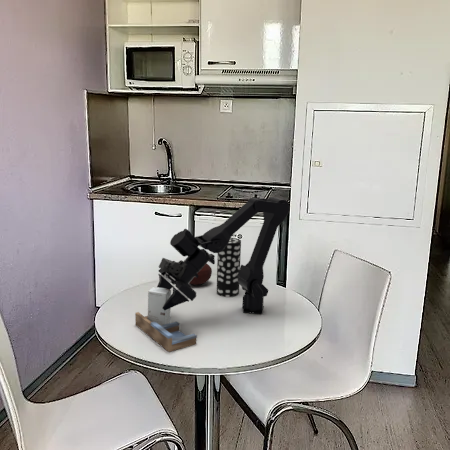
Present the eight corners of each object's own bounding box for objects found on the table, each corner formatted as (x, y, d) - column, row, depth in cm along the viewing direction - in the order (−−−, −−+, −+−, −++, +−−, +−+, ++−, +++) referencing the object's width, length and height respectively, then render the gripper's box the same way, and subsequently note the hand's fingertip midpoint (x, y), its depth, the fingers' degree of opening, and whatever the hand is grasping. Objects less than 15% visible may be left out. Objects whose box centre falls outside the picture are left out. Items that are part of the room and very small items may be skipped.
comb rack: (134, 324, 152) (134, 310, 151) (161, 318, 157) (161, 304, 156) (168, 352, 136) (168, 336, 135) (196, 343, 141) (197, 328, 140)
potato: (215, 286, 188) (216, 262, 186) (186, 290, 183) (187, 266, 181) (206, 278, 196) (206, 256, 193) (178, 282, 190) (178, 259, 188)
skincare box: (146, 328, 150) (146, 290, 147) (153, 322, 154) (153, 286, 151) (165, 331, 148) (165, 293, 146) (171, 325, 152) (171, 288, 150)
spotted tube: (239, 297, 177) (241, 244, 173) (216, 296, 177) (217, 243, 173) (238, 289, 185) (240, 238, 181) (216, 288, 186) (218, 237, 181)
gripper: (164, 241, 156) (131, 278, 154) (187, 257, 140) (150, 299, 137) (187, 262, 161) (154, 298, 159) (211, 280, 145) (176, 321, 143)
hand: (158, 303), depth 149 cm, fingers open, 9 cm apart
